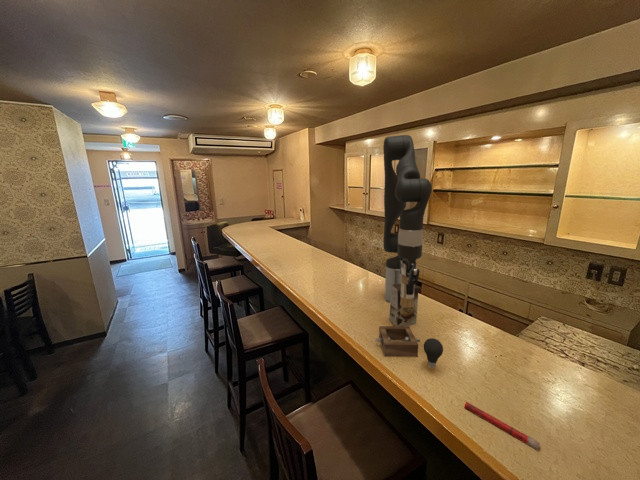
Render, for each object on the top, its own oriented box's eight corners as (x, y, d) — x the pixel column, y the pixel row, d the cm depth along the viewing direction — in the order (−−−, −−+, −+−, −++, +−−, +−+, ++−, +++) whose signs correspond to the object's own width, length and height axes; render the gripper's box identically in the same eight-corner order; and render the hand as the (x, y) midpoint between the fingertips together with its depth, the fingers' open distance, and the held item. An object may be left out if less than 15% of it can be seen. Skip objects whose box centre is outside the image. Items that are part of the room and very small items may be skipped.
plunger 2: (403, 340, 93) (403, 335, 92) (418, 340, 92) (418, 335, 92) (404, 345, 90) (405, 339, 90) (420, 345, 90) (420, 339, 90)
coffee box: (397, 327, 103) (399, 290, 99) (389, 319, 109) (390, 284, 105) (417, 323, 105) (419, 287, 101) (407, 315, 111) (409, 281, 108)
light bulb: (425, 358, 85) (427, 332, 83) (443, 366, 82) (446, 338, 79) (419, 368, 81) (421, 340, 79) (438, 376, 78) (441, 348, 75)
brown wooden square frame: (379, 336, 98) (379, 325, 97) (408, 336, 97) (409, 326, 96) (384, 356, 87) (384, 344, 86) (417, 356, 86) (418, 344, 85)
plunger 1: (375, 340, 93) (375, 334, 93) (390, 340, 93) (390, 334, 93) (376, 344, 91) (376, 338, 91) (391, 344, 91) (391, 339, 90)
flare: (537, 452, 56) (539, 446, 56) (464, 409, 67) (464, 404, 67) (539, 447, 57) (540, 441, 57) (466, 405, 68) (467, 400, 68)
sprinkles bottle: (412, 309, 85) (414, 271, 82) (398, 306, 87) (400, 269, 84) (414, 303, 89) (417, 267, 86) (401, 301, 91) (402, 265, 88)
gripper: (392, 237, 90) (391, 282, 94) (404, 248, 76) (401, 301, 80) (414, 236, 90) (411, 282, 94) (430, 248, 76) (426, 300, 80)
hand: (407, 290), depth 87 cm, fingers closed on sprinkles bottle, 4 cm apart
